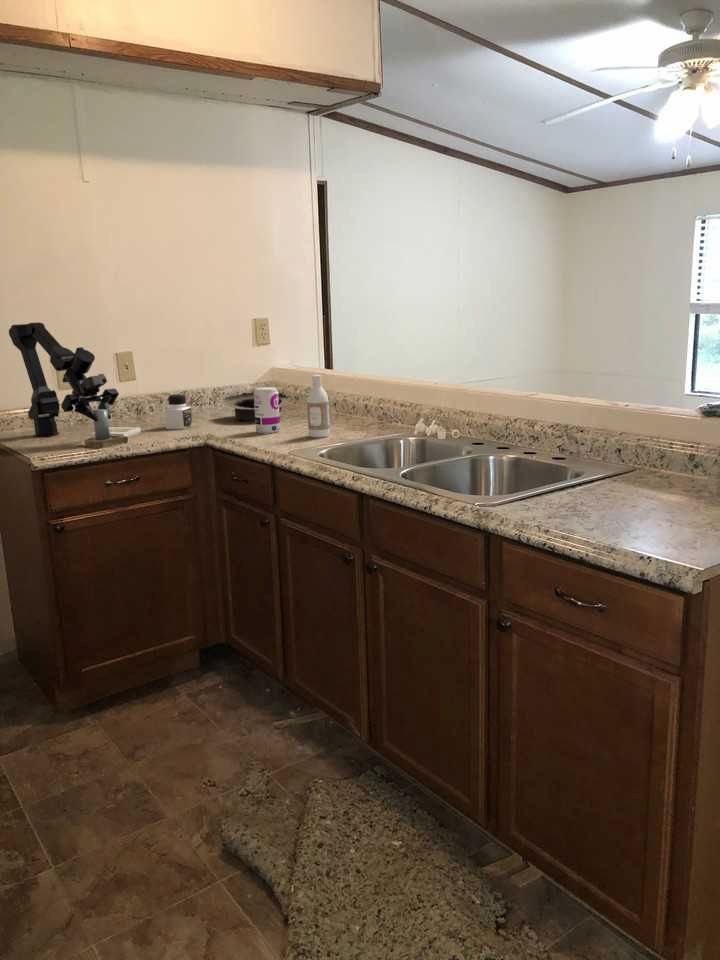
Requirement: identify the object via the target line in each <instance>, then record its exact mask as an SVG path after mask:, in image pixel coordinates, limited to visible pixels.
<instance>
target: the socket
mask: <svg viewBox="0 0 720 960" xmlns="http://www.w3.org/2000/svg"><path fill="white" fill-rule="evenodd" d="M110 437H111V438H112V439H108V440H103V441H96V440H94V439H84V447H87V446H89V447H88V448H93V447H96V449H103V448H102V447H104V448H108V446H109V447H113V446H112V445H114V446H118V445H117V444H119V445H123V444H122V443H124V444H128V443H129V438H128V437H126V436H119V435H110ZM127 442H128V443H127Z"/></svg>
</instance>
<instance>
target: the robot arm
mask: <svg viewBox="0 0 720 960" xmlns="http://www.w3.org/2000/svg"><path fill="white" fill-rule="evenodd" d="M8 335H9V337H10V339H11V343H12V345H14V346H15V347H16V348H17V350H18V351H20V353H21V357H22V360H23V363H24V366H25V369H26V373H27V375H28V379H29V382H30V385H31V388H32V395H31V399H30V402H31V406H30V408H29V410H28V413H27V415H28V419H29V420H33V423H34V432H35V434H33V435H32V437H35V436H44V437H43V438H45V436H49V437H52V435H53V436H56V435H58V434H60V432H59V431H58V427H57V426H58V424H57V421H56V418H58V417H59V416H60V406H61V408H62V411H63V412H64V413H68V412H73V410H74V412H75V413H78V414H81V415H83V416H85V417H86V418H89V419H91V420H92V421H93V422H94V421H97V420H98V418H97V416H96V415H95V413H94V411H93V410H94V409H93V408H92V407H91V405H90V404H92V403H97V405H98V406H97V409H107V410H108V420H111V418H112V416H111V411H110V406H112V405H114V403H115V401H116V400H117V398H118V397H119V395H120V393H119V391H118V390H117V389H116V388H106V389H104V391H103V392H102V394H100V393H99V392H100V391H101V390H100V388H101V387H102V386H103V387H104V385H105V384H107V382H108V380H107V379H108V378H107V377H106V376H105V374H103V373H99V374H97V375H91V376H88V377H87V376H86V374H87V373H89V371H90V369H91V368H92V366H93V364H94V361H95V358H96V357H95V354H93V353H92V352H91V351H89V350H87V349H84V347H82V346H81V347H76V349H75V351H74V352H73V351H72V350H71V349H69V348H67V347H64V346H62V345H61V344H60V343H59V342H58V341H57V339H56V338H55V337H54V336H53V335H52V334H51V332H49V330H48V329H47V328H46V326H45V324H44V323H43V322H38V321H37V322H29V323H21V324H12V325H11V326H10V328H9V329H8ZM37 344H39V345H40V346H41V348H42V349H43V350H44V351H45V352H46V353H47V354H48V356H49V363H51V365H52V366H53V368H54V370H55V371H57V372H62V371H65V373H63V377H62V382H63V383H68V384H69V385H70V387H71V388H72V391H71V393H69V394H66V395H65V396H64V398H63V400H62V402H61V404H60V402H59V401H60V400H59V399H58V396H57V392H56V390H51V389H50V388H49V385H48V383H47V380H46V377H45V373H44V370H43V368H42V364H41V360H40V358H39V353H38V351H37V349H36V347H37ZM98 393H99V394H98Z"/></svg>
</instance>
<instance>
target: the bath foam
mask: <svg viewBox="0 0 720 960" xmlns="http://www.w3.org/2000/svg"><path fill="white" fill-rule="evenodd" d="M311 377H312V387H311V389H310V391H309V393H308V395H307V400H306V403H307V406H306V407H307V425H308V430H307V431H308V436H309V437H310V438H317V439H320V438H321V439H322V438H326V437H329V436H330V409H329V408H330V407H329V406H330V404H329V403H330V402H329V398H328V397H329V396H328V394H327V392H326V390H325V389H324V388H323V386H322V385H323V384H322V383H323V382H322V375H321V374H312V376H311Z"/></svg>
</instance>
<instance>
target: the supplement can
mask: <svg viewBox="0 0 720 960" xmlns="http://www.w3.org/2000/svg"><path fill="white" fill-rule="evenodd" d="M253 392H254V405H255V421H254V422H255V431H256V432H257V433H258V434H262V433H264V434H265V435H266V434H267V435H269V434H268V433H270V434H275V433H276V434H277V433H279V431H280V430H281V424H280V423H281V422H280V413H279V399H278V393H279V391H278V389H277V387H273V386H265V387H264V386H262V387H261V386H260V387H256V388H255V389H254V391H253Z"/></svg>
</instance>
